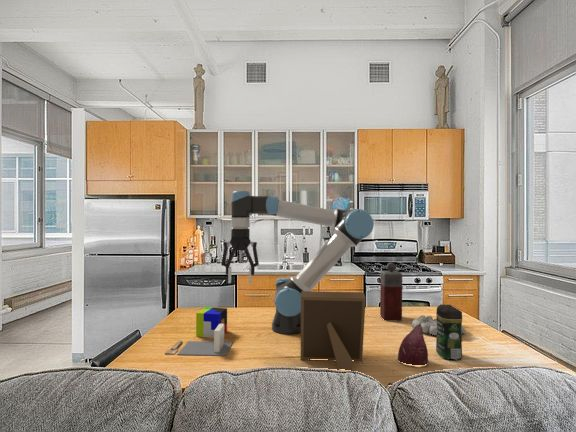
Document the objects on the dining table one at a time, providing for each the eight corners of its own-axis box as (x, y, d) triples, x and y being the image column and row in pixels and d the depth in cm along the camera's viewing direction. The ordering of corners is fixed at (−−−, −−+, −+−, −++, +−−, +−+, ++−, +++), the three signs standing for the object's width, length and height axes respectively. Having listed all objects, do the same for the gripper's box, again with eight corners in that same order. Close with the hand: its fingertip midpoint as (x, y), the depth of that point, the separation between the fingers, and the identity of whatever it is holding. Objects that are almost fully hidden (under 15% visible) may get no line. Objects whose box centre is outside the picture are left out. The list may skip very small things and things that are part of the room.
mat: (232, 342, 149) (232, 341, 149) (226, 355, 135) (226, 355, 135) (188, 341, 150) (188, 341, 150) (177, 355, 136) (177, 354, 136)
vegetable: (420, 365, 136) (428, 324, 138) (431, 373, 126) (440, 329, 128) (392, 358, 136) (401, 317, 138) (401, 365, 126) (411, 321, 128)
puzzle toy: (218, 338, 155) (218, 314, 155) (196, 336, 157) (196, 312, 157) (227, 330, 164) (227, 308, 164) (205, 329, 166) (206, 307, 166)
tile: (224, 343, 147) (224, 323, 147) (219, 352, 138) (219, 330, 138) (218, 343, 147) (218, 323, 147) (213, 352, 138) (213, 330, 138)
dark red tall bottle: (396, 314, 193) (397, 261, 193) (402, 321, 182) (402, 264, 181) (379, 314, 193) (379, 260, 193) (383, 320, 182) (384, 263, 182)
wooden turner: (184, 343, 149) (184, 340, 149) (174, 355, 136) (174, 352, 136) (175, 342, 149) (175, 340, 149) (164, 354, 136) (164, 352, 136)
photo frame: (300, 355, 136) (301, 287, 136) (360, 357, 135) (361, 288, 135) (300, 373, 121) (300, 297, 121) (367, 375, 120) (368, 298, 120)
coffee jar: (433, 351, 142) (433, 302, 142) (453, 351, 142) (454, 303, 142) (442, 361, 132) (443, 309, 132) (465, 361, 132) (465, 309, 132)
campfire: (422, 339, 155) (423, 325, 155) (405, 325, 176) (405, 312, 176) (474, 340, 156) (474, 326, 156) (450, 325, 177) (451, 313, 177)
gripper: (266, 228, 157) (265, 281, 158) (217, 227, 158) (217, 280, 158) (264, 228, 150) (264, 284, 150) (213, 228, 150) (213, 284, 151)
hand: (240, 282), depth 154 cm, fingers open, 8 cm apart
